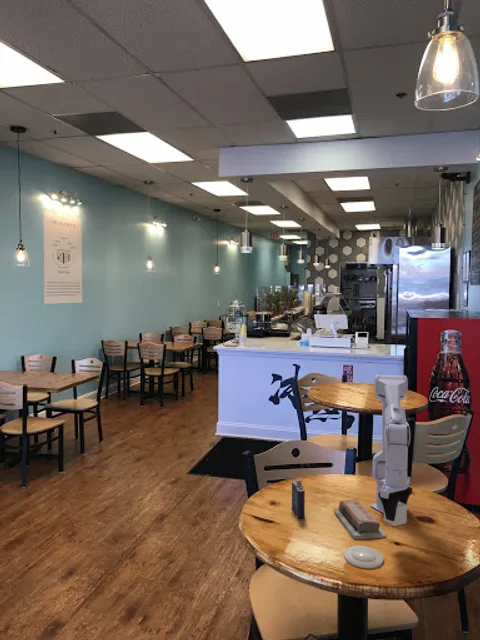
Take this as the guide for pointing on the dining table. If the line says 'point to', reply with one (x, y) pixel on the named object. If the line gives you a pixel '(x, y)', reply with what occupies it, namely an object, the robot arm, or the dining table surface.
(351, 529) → the packaged product
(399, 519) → the mint block
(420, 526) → the dining table surface
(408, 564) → the dining table surface
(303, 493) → the flask
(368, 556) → the saucer
